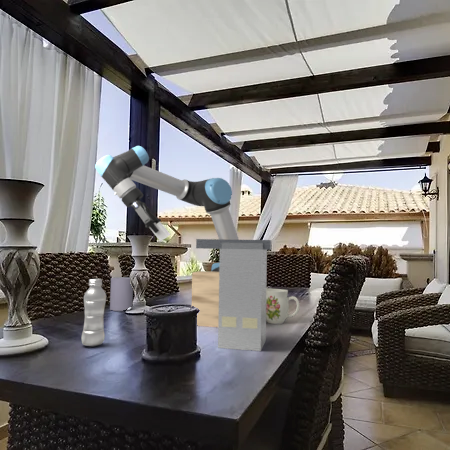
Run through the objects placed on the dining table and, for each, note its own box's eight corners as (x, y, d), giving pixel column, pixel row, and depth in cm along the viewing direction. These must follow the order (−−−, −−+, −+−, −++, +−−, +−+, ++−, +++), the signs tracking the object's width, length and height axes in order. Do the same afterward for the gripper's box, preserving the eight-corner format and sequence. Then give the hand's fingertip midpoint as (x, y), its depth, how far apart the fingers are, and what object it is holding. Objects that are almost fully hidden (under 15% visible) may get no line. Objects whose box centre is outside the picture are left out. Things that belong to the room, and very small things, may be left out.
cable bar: (199, 248, 126) (199, 239, 127) (271, 249, 121) (271, 240, 121) (196, 248, 123) (196, 239, 123) (270, 249, 117) (270, 240, 117)
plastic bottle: (80, 344, 116) (83, 278, 117) (103, 342, 119) (105, 278, 120) (81, 349, 110) (84, 280, 111) (105, 347, 113) (108, 280, 114)
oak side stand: (197, 321, 155) (198, 271, 157) (240, 323, 151) (241, 272, 153) (191, 325, 147) (192, 272, 148) (236, 328, 143) (237, 273, 144)
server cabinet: (227, 338, 127) (228, 243, 129) (265, 340, 124) (266, 243, 126) (217, 348, 114) (219, 242, 116) (260, 351, 111) (261, 242, 113)
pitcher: (296, 327, 147) (297, 291, 148) (252, 322, 154) (253, 288, 154) (301, 322, 157) (301, 288, 158) (260, 318, 164) (260, 286, 165)
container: (118, 312, 173) (120, 279, 174) (105, 309, 179) (106, 278, 180) (136, 309, 181) (137, 278, 182) (123, 307, 187) (124, 277, 188)
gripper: (128, 200, 151) (162, 241, 152) (112, 198, 126) (153, 247, 127) (142, 188, 151) (176, 229, 152) (129, 184, 126) (170, 233, 127)
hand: (166, 237), depth 139 cm, fingers open, 13 cm apart
